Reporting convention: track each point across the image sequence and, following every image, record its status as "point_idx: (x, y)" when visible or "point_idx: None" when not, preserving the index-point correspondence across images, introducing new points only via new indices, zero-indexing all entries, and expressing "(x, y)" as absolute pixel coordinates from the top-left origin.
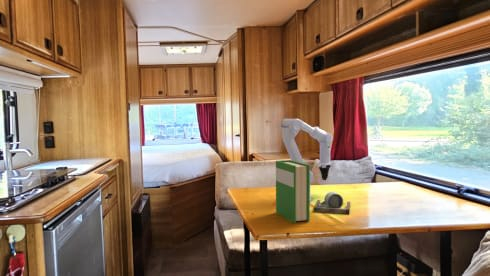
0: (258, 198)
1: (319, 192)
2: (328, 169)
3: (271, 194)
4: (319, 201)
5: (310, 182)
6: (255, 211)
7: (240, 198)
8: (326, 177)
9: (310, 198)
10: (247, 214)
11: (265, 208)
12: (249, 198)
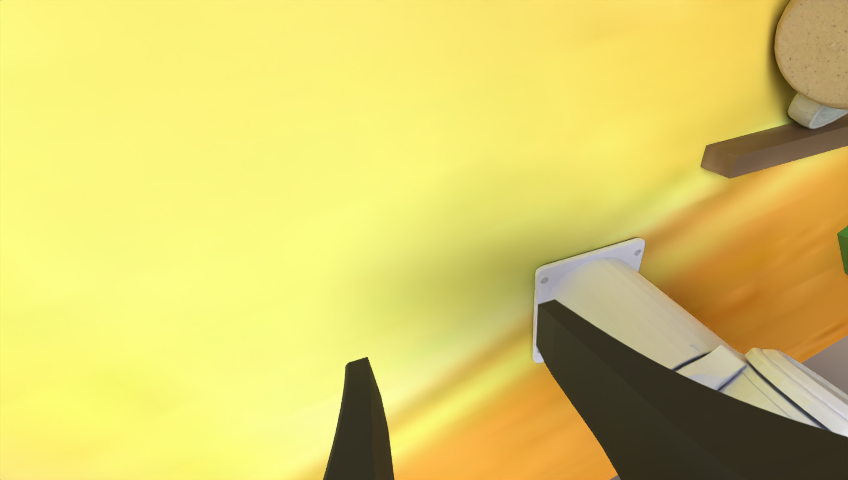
0: (589, 445)
1: (267, 311)
2: (833, 437)
3: (490, 461)
4: (778, 146)
5: (761, 349)
6: (803, 340)
7: (599, 477)
8: (591, 325)
9: (579, 264)
10: (836, 337)
11: (765, 338)
12: (594, 462)
